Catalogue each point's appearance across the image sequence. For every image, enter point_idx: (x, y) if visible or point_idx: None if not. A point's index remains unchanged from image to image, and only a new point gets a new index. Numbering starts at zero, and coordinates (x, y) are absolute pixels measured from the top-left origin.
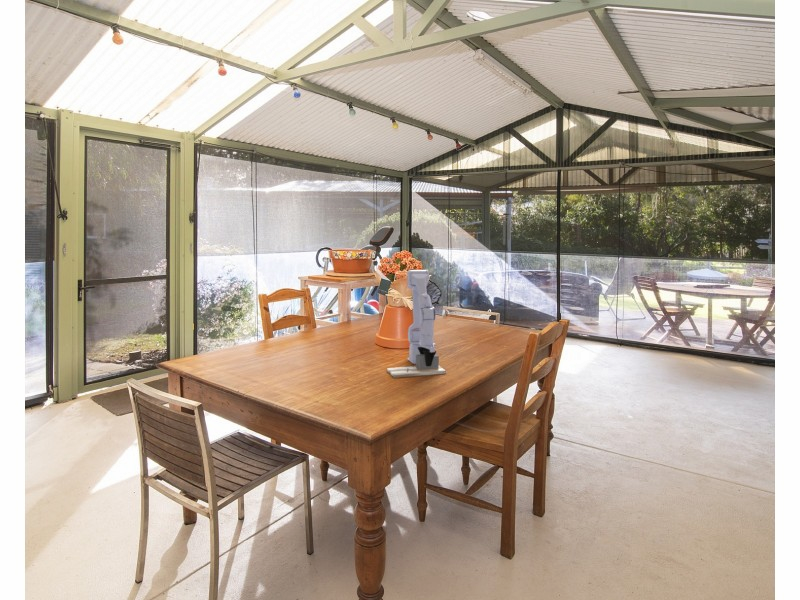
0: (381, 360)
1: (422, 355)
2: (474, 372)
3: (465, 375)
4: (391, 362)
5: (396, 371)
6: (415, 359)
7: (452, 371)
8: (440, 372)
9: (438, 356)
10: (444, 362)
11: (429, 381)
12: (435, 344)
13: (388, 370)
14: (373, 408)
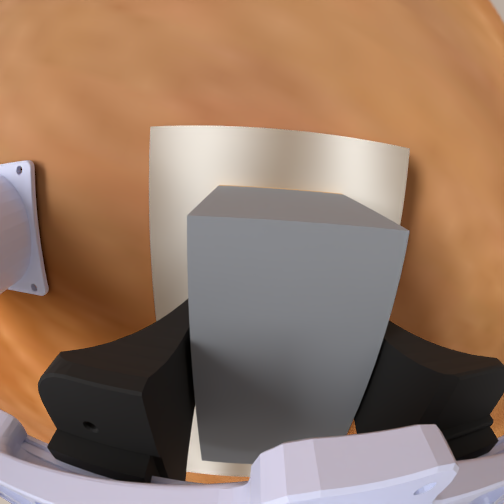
0: (8, 393)
1: (262, 429)
2: None
3: (462, 44)
4: (28, 378)
5: None
6: (14, 279)
7: (347, 54)
8: (397, 204)
9: (404, 235)
10: (62, 30)
11: (462, 336)
12: (453, 461)
13: (214, 471)
14: None
